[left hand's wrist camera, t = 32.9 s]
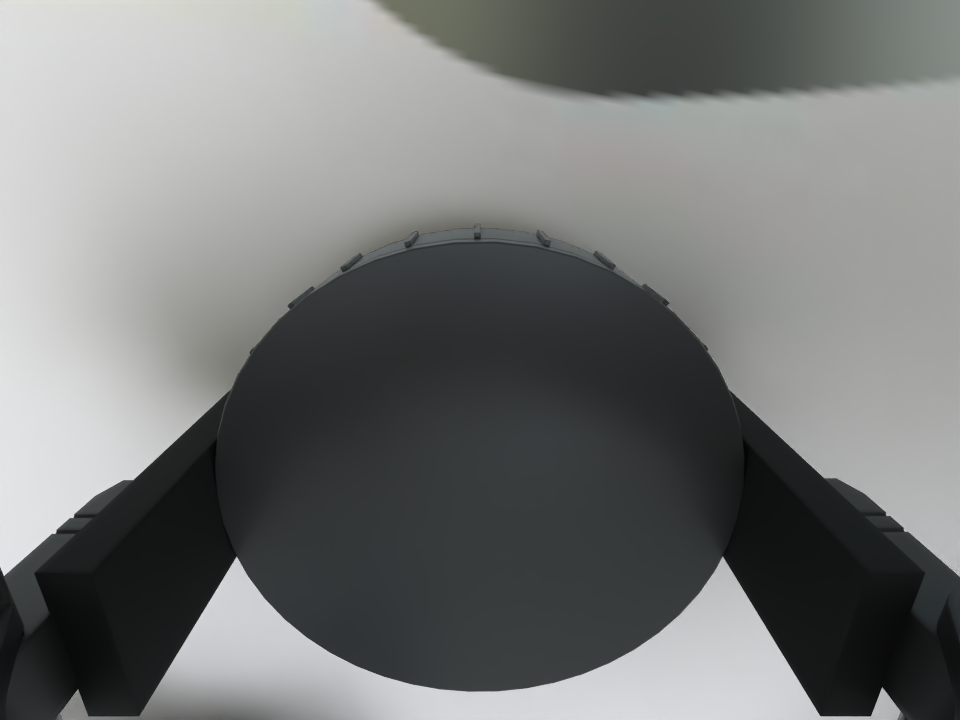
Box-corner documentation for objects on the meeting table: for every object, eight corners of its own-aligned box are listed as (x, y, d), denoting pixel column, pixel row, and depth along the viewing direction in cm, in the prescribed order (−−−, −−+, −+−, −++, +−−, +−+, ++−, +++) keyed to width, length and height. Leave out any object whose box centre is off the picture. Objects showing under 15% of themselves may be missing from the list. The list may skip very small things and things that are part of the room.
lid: (150, 365, 11) (91, 402, 9) (604, 121, 10) (632, 113, 8) (397, 677, 14) (386, 747, 13) (766, 536, 13) (811, 595, 11)
